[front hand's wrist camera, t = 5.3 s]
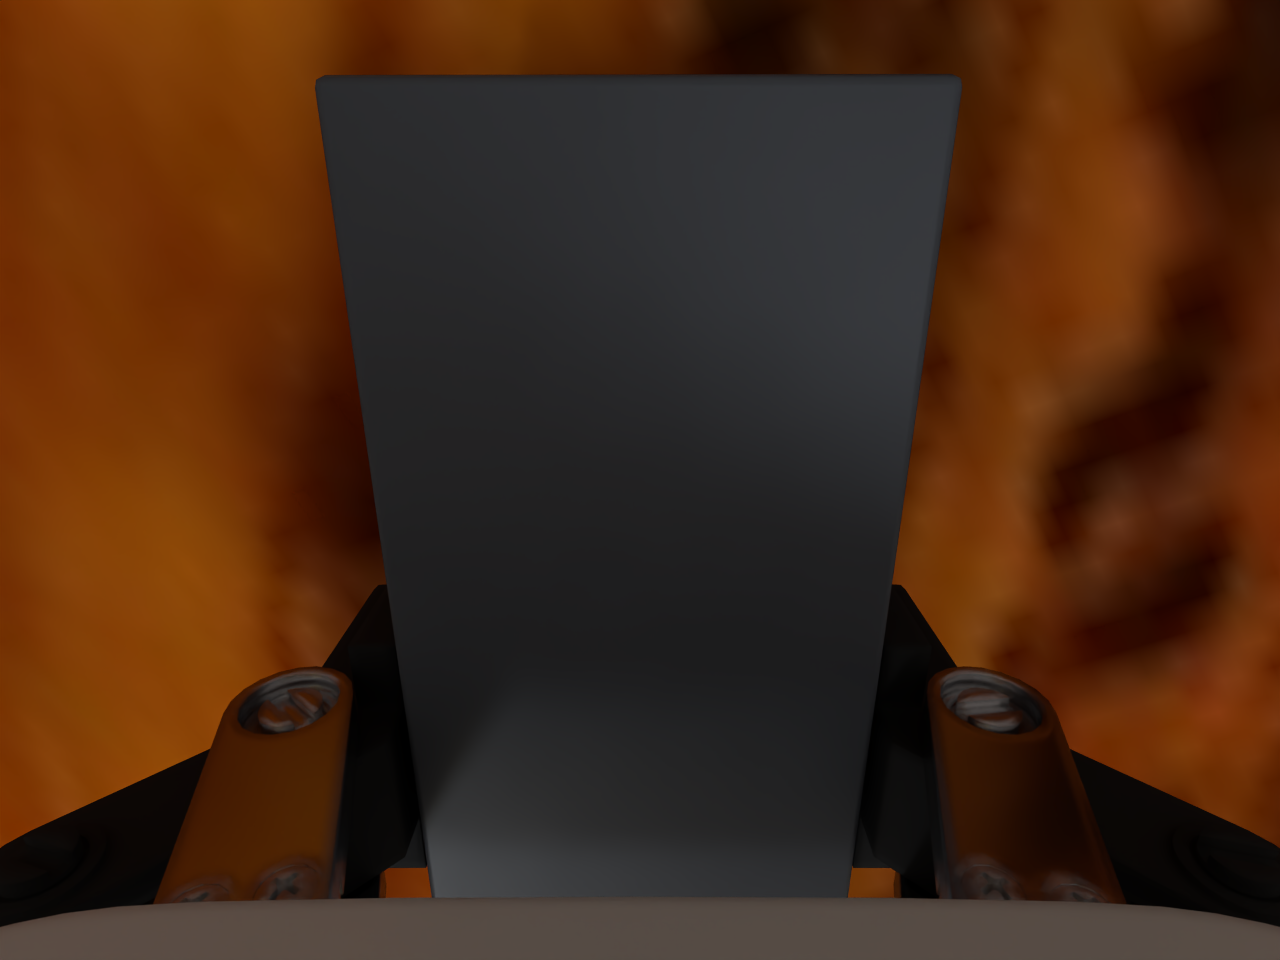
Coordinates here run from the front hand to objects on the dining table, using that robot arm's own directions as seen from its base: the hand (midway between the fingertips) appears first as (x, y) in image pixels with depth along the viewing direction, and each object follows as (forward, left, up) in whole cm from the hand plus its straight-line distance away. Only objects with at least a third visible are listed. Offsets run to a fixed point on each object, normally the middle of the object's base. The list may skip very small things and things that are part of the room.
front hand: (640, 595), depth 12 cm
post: (+25, -11, -2) cm, 27 cm away
